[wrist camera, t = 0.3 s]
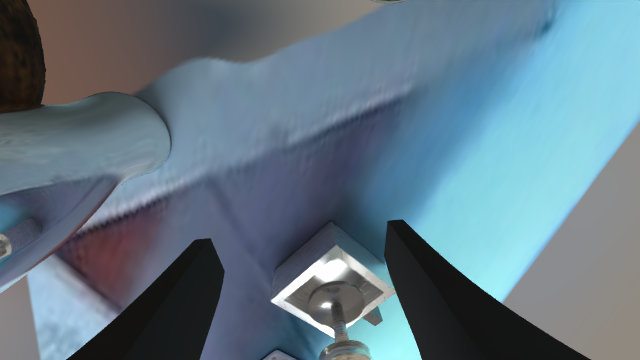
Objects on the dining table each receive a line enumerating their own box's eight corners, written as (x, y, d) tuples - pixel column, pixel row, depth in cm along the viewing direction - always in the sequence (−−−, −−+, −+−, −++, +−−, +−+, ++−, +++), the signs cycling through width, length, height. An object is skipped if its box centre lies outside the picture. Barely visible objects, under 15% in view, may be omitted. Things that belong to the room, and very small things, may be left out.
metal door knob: (334, 327, 22) (346, 408, 17) (296, 304, 21) (295, 385, 15) (373, 298, 21) (399, 375, 16) (336, 271, 19) (351, 346, 14)
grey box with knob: (344, 315, 28) (350, 347, 24) (274, 270, 24) (270, 301, 21) (398, 275, 26) (412, 303, 23) (330, 220, 22) (336, 245, 19)
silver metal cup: (144, 71, 16) (-687, 63, 2) (194, 164, 19) (-65, 396, 5) (48, 101, 16) (-1190, 246, 3) (112, 189, 19) (-336, 471, 6)
